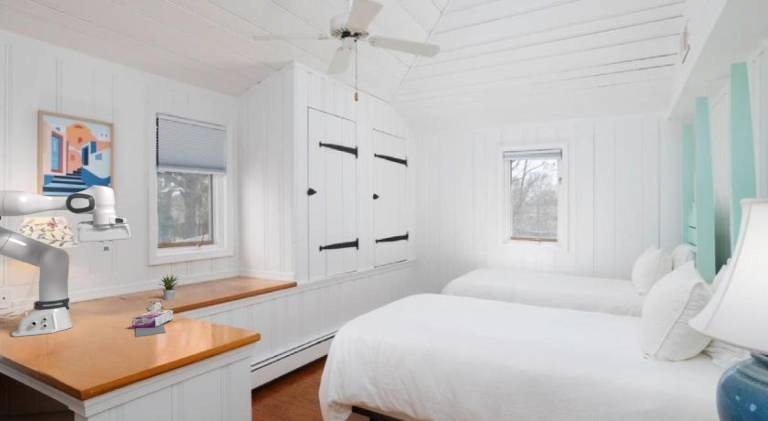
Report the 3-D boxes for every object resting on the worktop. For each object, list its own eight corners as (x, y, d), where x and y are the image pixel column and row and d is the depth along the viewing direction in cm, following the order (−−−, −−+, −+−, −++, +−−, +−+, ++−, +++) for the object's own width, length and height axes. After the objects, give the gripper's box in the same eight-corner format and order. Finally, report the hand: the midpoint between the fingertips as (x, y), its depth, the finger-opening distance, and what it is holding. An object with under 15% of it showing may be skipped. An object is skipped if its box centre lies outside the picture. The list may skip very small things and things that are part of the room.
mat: (135, 337, 186) (135, 336, 186) (135, 325, 207) (135, 324, 207) (165, 332, 192) (165, 331, 192) (162, 322, 213) (162, 321, 213)
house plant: (181, 300, 272) (180, 274, 273) (156, 302, 267) (156, 276, 267) (182, 296, 286) (182, 271, 286) (159, 298, 280) (158, 273, 281)
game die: (156, 324, 226) (154, 311, 220) (143, 318, 227) (140, 305, 222) (169, 312, 233) (167, 299, 227) (156, 306, 234) (153, 293, 229)
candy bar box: (131, 317, 200) (151, 310, 217) (132, 328, 200) (151, 320, 217) (155, 316, 200) (173, 309, 217) (155, 327, 200) (173, 319, 216)
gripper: (75, 221, 187) (77, 253, 188) (129, 219, 196) (131, 249, 197) (78, 221, 193) (79, 252, 193) (130, 218, 202) (132, 248, 202)
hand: (106, 250), depth 195 cm, fingers closed
